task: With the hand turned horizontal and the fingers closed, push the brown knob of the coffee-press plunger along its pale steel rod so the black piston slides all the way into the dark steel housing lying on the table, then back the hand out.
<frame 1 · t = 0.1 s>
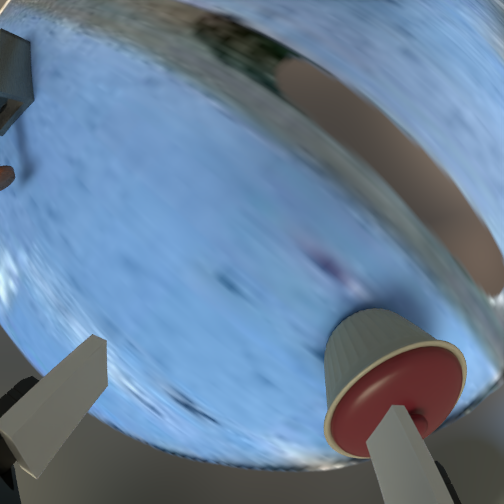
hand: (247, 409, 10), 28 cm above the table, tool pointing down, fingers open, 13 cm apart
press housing: (17, 119, 35), on the table
canister: (363, 341, 40), on the table
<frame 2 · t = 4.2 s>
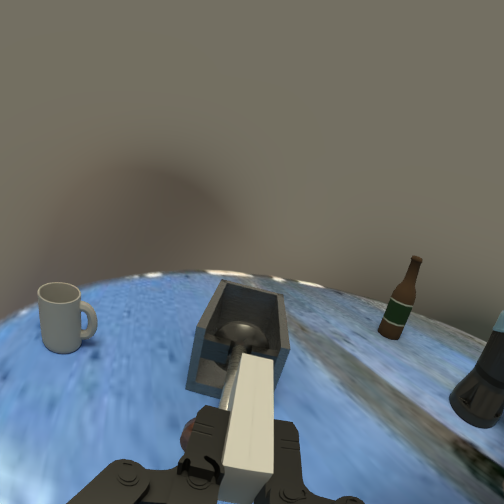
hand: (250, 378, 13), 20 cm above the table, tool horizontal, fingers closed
beer bottle: (388, 334, 72), on the table
plunger: (232, 387, 28), point 8 cm above the table, slide at 0.2 cm
cup: (69, 343, 36), on the table
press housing: (226, 400, 36), on the table
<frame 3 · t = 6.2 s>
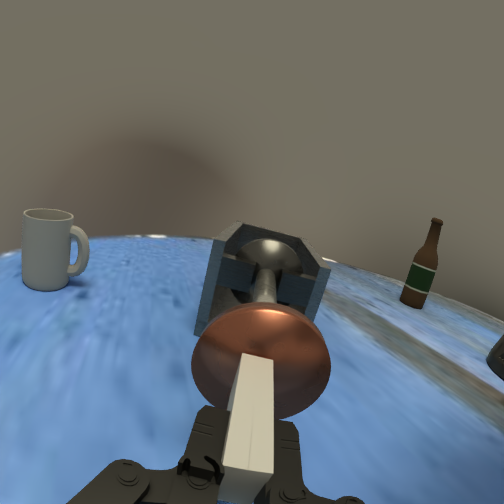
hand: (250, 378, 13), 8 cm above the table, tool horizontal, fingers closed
beer bottle: (410, 304, 66), on the table
plunger: (264, 306, 22), point 8 cm above the table, slide at 0.3 cm, touching gripper
cup: (54, 283, 30), on the table
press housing: (246, 349, 29), on the table
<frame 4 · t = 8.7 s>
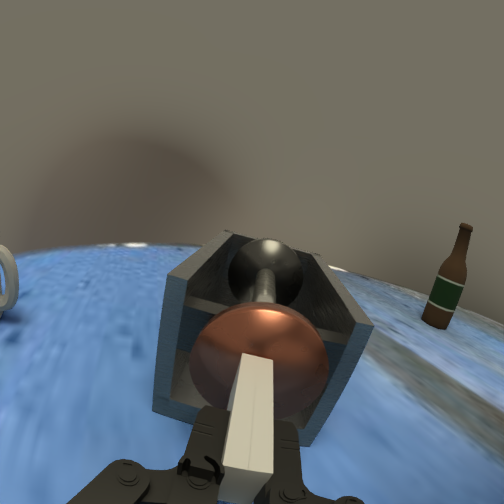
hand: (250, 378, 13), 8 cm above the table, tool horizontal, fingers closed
beer bottle: (433, 323, 53), on the table
plunger: (263, 306, 22), point 8 cm above the table, slide at 13.1 cm, touching gripper
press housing: (231, 434, 17), on the table
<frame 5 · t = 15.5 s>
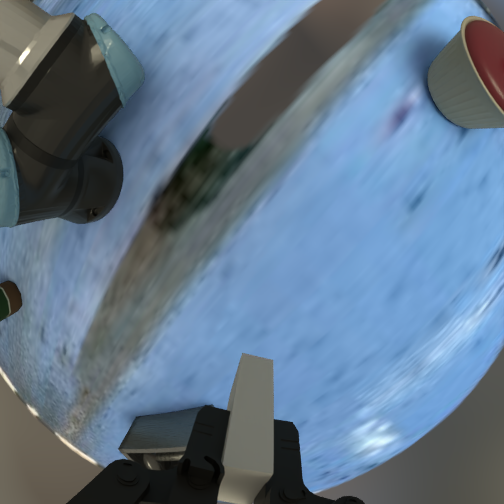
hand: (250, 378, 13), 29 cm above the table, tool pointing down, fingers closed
beer bottle: (14, 295, 47), on the table
plunger: (190, 454, 42), point 8 cm above the table, slide at 13.0 cm
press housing: (226, 423, 49), on the table
canister: (451, 95, 34), on the table
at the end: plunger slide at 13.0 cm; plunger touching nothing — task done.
